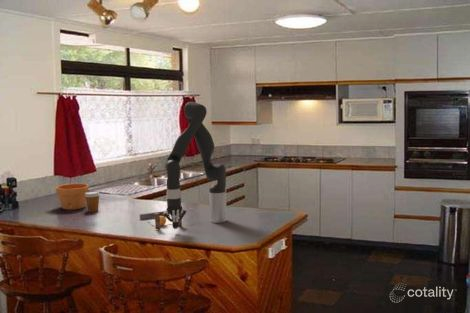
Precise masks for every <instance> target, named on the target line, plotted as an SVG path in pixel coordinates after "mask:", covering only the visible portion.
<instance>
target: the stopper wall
mask: <svg viewBox="0 0 470 313" xmlns="http://www.w3.org/2000/svg"><path fill="white" fill-rule="evenodd" d="M166 211H167V210H163V211H154V212H145V213H139V220H140V219H142V220H147V219H146V218H150V219H153V218H152V217H155V213H159V215H160V216H164V215H163V213H164V212H166ZM168 216H169V217H170V214H169V213H168Z"/></svg>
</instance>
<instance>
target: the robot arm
mask: <svg viewBox="0 0 470 313" xmlns="http://www.w3.org/2000/svg"><path fill="white" fill-rule="evenodd" d="M183 111H184V112H183V114H184V116H185V118H186V120H187V123H188V126H187V128H186V129H185V130H184V131H183V132H181V134H180V135H179V136H178V137H177V138H176V140H175V143H174V146H173V148H172V150H171V152H170V154H169V155H168V158H167V159H166V161H165V164H164V168H165V170H166V173H167V174H166V176H167V179H166V203H167V204H166V205H167V206H166V210H165V211H166V212H164V213H163V215H164V216H165V218H166V219H168V220H169V221H170V222H172V224H171V225H172V226H171V227H172V228H173V229H174V230H177V229H178V228H179V227H178V221H180V220H181V219H182V220H183V217H185V215H186V213H187V210H185V209H183V207H182V192H181V182H180V176H181V166H180V162H181V161H182V158H184V156H185V155H186V152H187V150H188V148H189V146H190V144H191V141H192V140H193V138H194V139H195V144H196V146H197V147H196V148H197V149H198V151H199V155H200V157H201V161H202V164H203V169H204V173H205V176H206V178H207V180H209V181H216V182H217V183H216V184H215V185H211V186H210V187H209V188H208V189H209V190H208V191H209V210H210V211H209V212H210V223H215V224H218V223H220V224H221V223H225V222H227V201H226V195H227V194H226V186H227V182H226V180H227V170H226V166H225V165H224V164H218V163H217V164H216V163H215V164H213V163H212V159H211V158H212V155H213V153H214V150H215V142H214V139H213V137H212V134H211V133H210V131H209V129H207V128H206V126H205V125H204V123H203V122H204V120H205V118H206V116H207V114H208V112H207V111H208V110H207V108H206V106H205V105H204V104H200V103H198V102H195V101H188V102H187V103H186V104H185V106H184V109H183ZM180 212H181V214H180ZM168 213H169V216H168ZM179 214H180V216H179Z"/></svg>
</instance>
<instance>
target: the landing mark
mask: <svg viewBox="0 0 470 313" xmlns="http://www.w3.org/2000/svg"><path fill="white" fill-rule="evenodd" d="M169 224H171V225H172V222H170V221H169V220H168V219H167V218H166V223H165V224H164V225H163V226H169Z"/></svg>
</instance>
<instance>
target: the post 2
mask: <svg viewBox="0 0 470 313" xmlns="http://www.w3.org/2000/svg"><path fill="white" fill-rule="evenodd" d="M180 214H181V212H180ZM180 214H179V216H180ZM182 221H183V218H182V219H181V220H180V221H178V228H182V227H183V222H182ZM181 226H182V227H181Z"/></svg>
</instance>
